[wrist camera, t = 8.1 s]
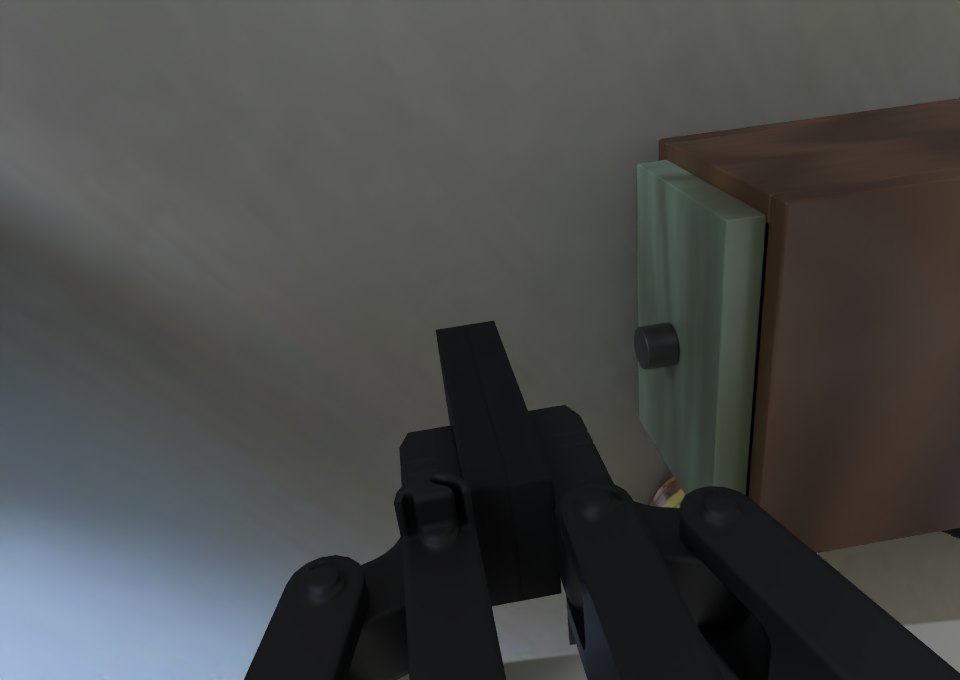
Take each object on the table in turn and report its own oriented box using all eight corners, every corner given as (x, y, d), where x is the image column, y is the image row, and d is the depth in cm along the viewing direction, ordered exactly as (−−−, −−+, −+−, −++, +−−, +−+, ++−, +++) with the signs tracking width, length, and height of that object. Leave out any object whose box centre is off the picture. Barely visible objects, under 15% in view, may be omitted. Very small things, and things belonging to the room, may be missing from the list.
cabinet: (657, 415, 33) (755, 564, 24) (658, 138, 27) (786, 202, 19) (954, 368, 34) (1152, 494, 25) (1014, 90, 28) (1296, 129, 20)
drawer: (612, 424, 32) (677, 543, 25) (605, 167, 27) (684, 226, 20) (923, 374, 33) (1071, 476, 26) (973, 117, 28) (1175, 155, 21)
